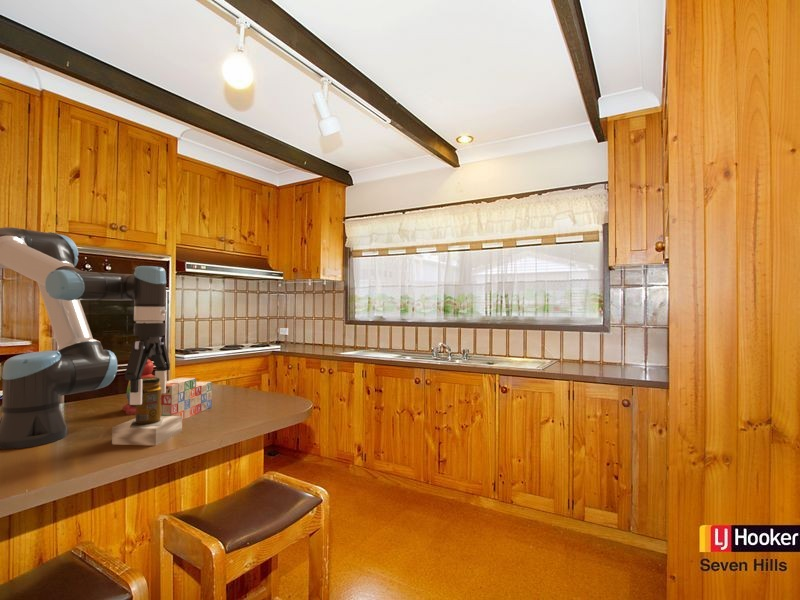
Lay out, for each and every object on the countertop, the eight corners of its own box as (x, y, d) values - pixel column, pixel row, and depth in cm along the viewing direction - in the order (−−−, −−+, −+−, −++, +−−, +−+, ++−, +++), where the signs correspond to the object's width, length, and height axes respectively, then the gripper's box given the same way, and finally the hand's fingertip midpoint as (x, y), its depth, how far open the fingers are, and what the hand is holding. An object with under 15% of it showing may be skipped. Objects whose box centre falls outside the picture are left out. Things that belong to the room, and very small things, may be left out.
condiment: (163, 417, 121) (164, 375, 121) (161, 425, 113) (161, 380, 113) (134, 420, 118) (134, 377, 118) (129, 428, 110) (129, 382, 110)
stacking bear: (121, 409, 146) (121, 358, 146) (154, 404, 153) (154, 356, 153) (126, 415, 138) (127, 361, 138) (161, 410, 145) (162, 359, 145)
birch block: (111, 446, 111) (112, 427, 111) (142, 432, 123) (142, 415, 123) (155, 447, 110) (156, 428, 110) (181, 433, 122) (182, 416, 122)
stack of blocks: (195, 407, 151) (196, 372, 151) (212, 407, 150) (212, 373, 150) (152, 424, 130) (153, 384, 130) (171, 425, 129) (171, 384, 129)
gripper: (141, 324, 105) (139, 409, 104) (182, 320, 129) (181, 389, 129) (109, 324, 104) (107, 410, 104) (157, 320, 129) (156, 389, 129)
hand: (148, 398), depth 116 cm, fingers open, 13 cm apart
